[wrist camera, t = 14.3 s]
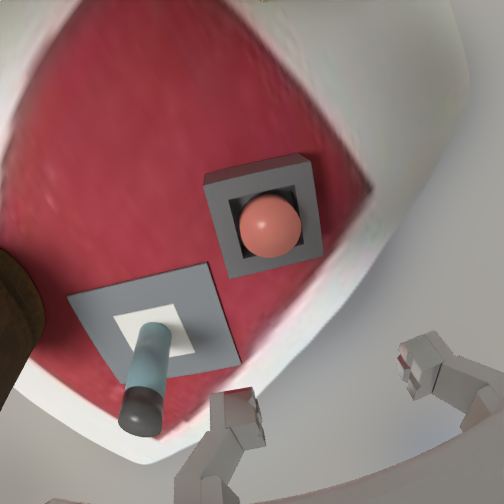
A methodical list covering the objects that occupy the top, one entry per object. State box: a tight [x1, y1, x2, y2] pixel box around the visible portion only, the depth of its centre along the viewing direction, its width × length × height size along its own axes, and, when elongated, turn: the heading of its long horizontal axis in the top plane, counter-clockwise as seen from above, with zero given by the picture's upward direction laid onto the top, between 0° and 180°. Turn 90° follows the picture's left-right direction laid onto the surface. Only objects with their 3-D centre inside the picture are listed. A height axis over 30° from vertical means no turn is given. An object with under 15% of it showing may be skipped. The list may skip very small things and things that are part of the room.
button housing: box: [203, 153, 324, 279], centre depth 26 cm, size 8×8×4 cm
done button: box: [239, 193, 301, 258], centre depth 24 cm, size 4×4×2 cm
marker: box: [118, 322, 172, 437], centre depth 27 cm, size 4×4×12 cm
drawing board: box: [67, 262, 241, 384], centre depth 32 cm, size 16×14×1 cm
